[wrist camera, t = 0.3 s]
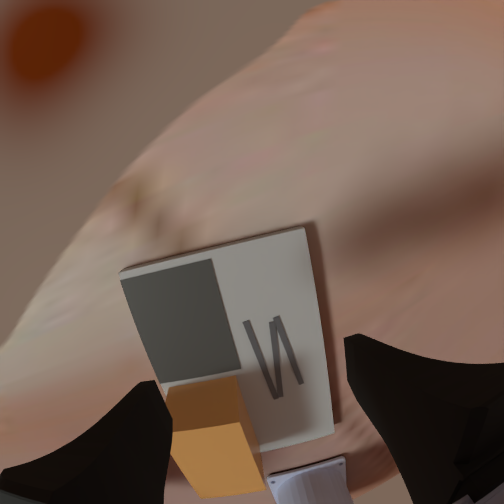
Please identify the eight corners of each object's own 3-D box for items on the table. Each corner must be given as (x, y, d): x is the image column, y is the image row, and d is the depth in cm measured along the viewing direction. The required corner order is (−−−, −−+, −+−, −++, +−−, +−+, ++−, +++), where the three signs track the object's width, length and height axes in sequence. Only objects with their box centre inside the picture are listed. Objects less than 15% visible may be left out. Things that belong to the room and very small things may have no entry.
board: (331, 425, 24) (334, 433, 22) (200, 454, 23) (200, 462, 22) (300, 225, 20) (304, 228, 19) (122, 268, 19) (117, 273, 18)
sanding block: (259, 445, 22) (266, 489, 17) (202, 454, 22) (201, 498, 17) (235, 375, 20) (239, 421, 16) (168, 387, 20) (158, 433, 15)
